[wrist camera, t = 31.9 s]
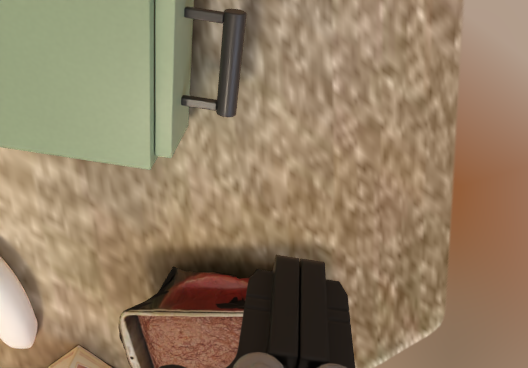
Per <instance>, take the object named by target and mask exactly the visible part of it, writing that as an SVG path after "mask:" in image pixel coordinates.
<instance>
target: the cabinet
mask: <svg viewBox="0 0 528 368" xmlns="http://www.w3.org/2000/svg"><path fill="white" fill-rule="evenodd" d="M0 147H3V148H10V149H16V150H23V151H29V152H36V153H43V154H49V155H56V156H62V157H69V158H75V159H82V160H88V161H95V162H102V163H108V164H115V165H121V166H128V167H134V168H141V169H147V170H151V168H152V166H153V164H154V163H155V161H156V159H157V158H158V156H155V114H154V0H0Z"/></svg>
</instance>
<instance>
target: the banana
mask: <svg viewBox="0 0 528 368" xmlns="http://www.w3.org/2000/svg"><path fill="white" fill-rule="evenodd" d="M36 333H37V319H36V317H35V314H34V311H33V308H32V306H31V303H30V301H29V299H28V297H27V295H26V293H25V291H24V289H23V287H22V285H21V283H20V281H19V280H18V278H17V277H16V275H15V274H14V272H13V271H12V269H11V268H10V267H9V266H8V264H7V263H6V262H5V261H4V260H3V259H2V257H1V256H0V338H1V339H2V341H3V342H4V343H6V344H7V345H8V346H9V347H12V348H17V349H27V348H30V347H31V346H32V345H33V343H34V341H35V337H36Z"/></svg>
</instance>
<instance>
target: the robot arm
mask: <svg viewBox="0 0 528 368" xmlns="http://www.w3.org/2000/svg"><path fill="white" fill-rule="evenodd" d="M159 368H186V367H184V366H181V365H174V364H171V365H164V366H161V367H159ZM226 368H355V362H354V353H353V344H352V334H351V325H350V315H349V306H348V297H347V294H346V292H345V290H344V289H343V287H342V285H341V284H340V282H339V281H332V280H326V277H325V263H324V262H320V261H314V260H307V259H300V262H299V258H293V257H287V256H280V255H276V257H275V262H274V267H273V272H272V271H266V270H259V269H257V270H256V271H255V272H254V274H253V275H252V276H251V278H250V279H249V280H248V286H247V293H246V299H245V306H244V312H243V319H242V325H241V332H240V339H239V345H238V351H237V354H236V357H235V358H234V360H233V361H232V363H231V364H230V365H229V366H227V367H226Z"/></svg>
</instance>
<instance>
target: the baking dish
mask: <svg viewBox="0 0 528 368" xmlns="http://www.w3.org/2000/svg"><path fill="white" fill-rule="evenodd" d="M272 272H273V271H272ZM250 278H251V277H248V278H243V279H238V278H237V277H236V276H233V275H228V274H222V273H216V272H211V273H203V272H187V271H183V270H180V269H178V268H176V267H173V268H172V270H171V271H170V273H169V275H168V276H167V278H166V280H165V282H164V283H163V285H162V287H161V288H160V290H159V292H158V293H157V294H155V295H154V296H153V297H151V298H150V299H148V300H147V301H145V302H143V303H141V304H139V305H136V306H134V307H132V308H130V309H127V310H125V311H124V312H123V313H122V314H121V316H120V320H119V332H120V339H121V341H122V343H123V346H124V349H125V350H126V356H127V359H128V362H129V364H130V366H131V368H159V367H161V366H164V365H171V364H174V365H181V366H184V367H186V368H226V367H227V366H229V365H230V364H231V363H232V361H233V360H234V358H235V357H236V354H237V351H238V345H239V339H240V332H241V325H242V319H243V312H244V306H245V299H246V293H247V286H248V280H249V279H250Z"/></svg>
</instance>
